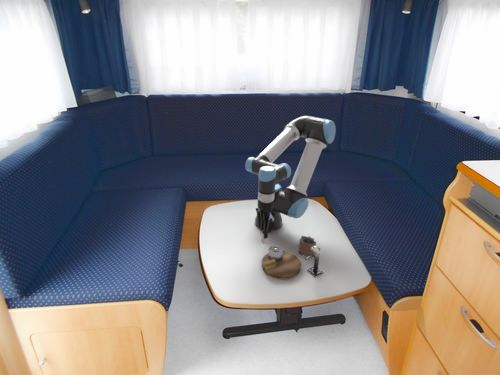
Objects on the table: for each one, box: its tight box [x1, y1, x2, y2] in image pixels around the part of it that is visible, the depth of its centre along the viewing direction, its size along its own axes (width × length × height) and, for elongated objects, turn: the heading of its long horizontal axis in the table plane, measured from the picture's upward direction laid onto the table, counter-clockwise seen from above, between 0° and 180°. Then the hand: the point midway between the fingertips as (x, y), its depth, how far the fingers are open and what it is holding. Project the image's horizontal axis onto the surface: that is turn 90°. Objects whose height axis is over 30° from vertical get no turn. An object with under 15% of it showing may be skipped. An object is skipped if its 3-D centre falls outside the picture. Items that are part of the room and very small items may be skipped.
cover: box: [267, 245, 285, 262], centre depth 162 cm, size 7×7×5 cm
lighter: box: [297, 235, 317, 257], centre depth 167 cm, size 8×3×10 cm, turn 71°
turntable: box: [261, 250, 302, 280], centre depth 159 cm, size 18×18×5 cm
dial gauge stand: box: [304, 245, 324, 278], centre depth 154 cm, size 5×8×14 cm, turn 123°
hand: (263, 242), depth 169 cm, fingers closed
